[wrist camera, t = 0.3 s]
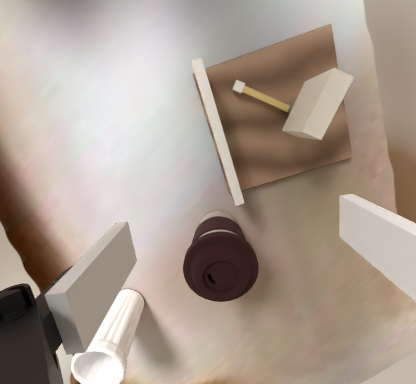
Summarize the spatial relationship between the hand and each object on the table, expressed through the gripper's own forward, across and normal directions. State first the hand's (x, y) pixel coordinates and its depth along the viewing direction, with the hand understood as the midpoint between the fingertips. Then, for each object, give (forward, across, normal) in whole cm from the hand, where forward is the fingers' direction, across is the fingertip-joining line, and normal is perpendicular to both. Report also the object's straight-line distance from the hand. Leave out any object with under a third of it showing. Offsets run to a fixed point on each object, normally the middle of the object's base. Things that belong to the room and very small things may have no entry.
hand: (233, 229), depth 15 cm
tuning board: (+27, +10, +6) cm, 29 cm away
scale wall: (+26, 0, +5) cm, 26 cm away
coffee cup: (+27, -2, -12) cm, 30 cm away
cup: (+27, -22, -26) cm, 43 cm away
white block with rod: (+26, +8, +9) cm, 29 cm away
